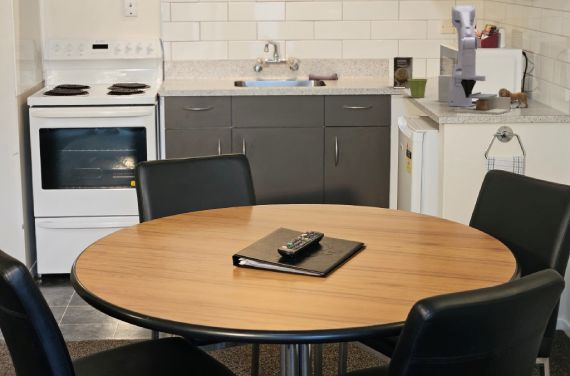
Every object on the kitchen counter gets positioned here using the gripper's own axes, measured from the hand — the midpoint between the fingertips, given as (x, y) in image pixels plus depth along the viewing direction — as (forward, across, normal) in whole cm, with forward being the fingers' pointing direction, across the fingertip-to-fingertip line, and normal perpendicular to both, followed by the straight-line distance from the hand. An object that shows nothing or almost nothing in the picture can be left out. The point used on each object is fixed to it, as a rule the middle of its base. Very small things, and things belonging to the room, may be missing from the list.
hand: (468, 97), depth 408 cm
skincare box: (+6, -23, +26) cm, 35 cm away
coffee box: (+6, -68, +70) cm, 98 cm away
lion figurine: (+6, +14, +15) cm, 22 cm away
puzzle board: (+6, +6, 0) cm, 9 cm away
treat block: (+6, +6, 0) cm, 9 cm away
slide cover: (0, +7, 0) cm, 7 cm away
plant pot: (+6, -42, +35) cm, 55 cm away
